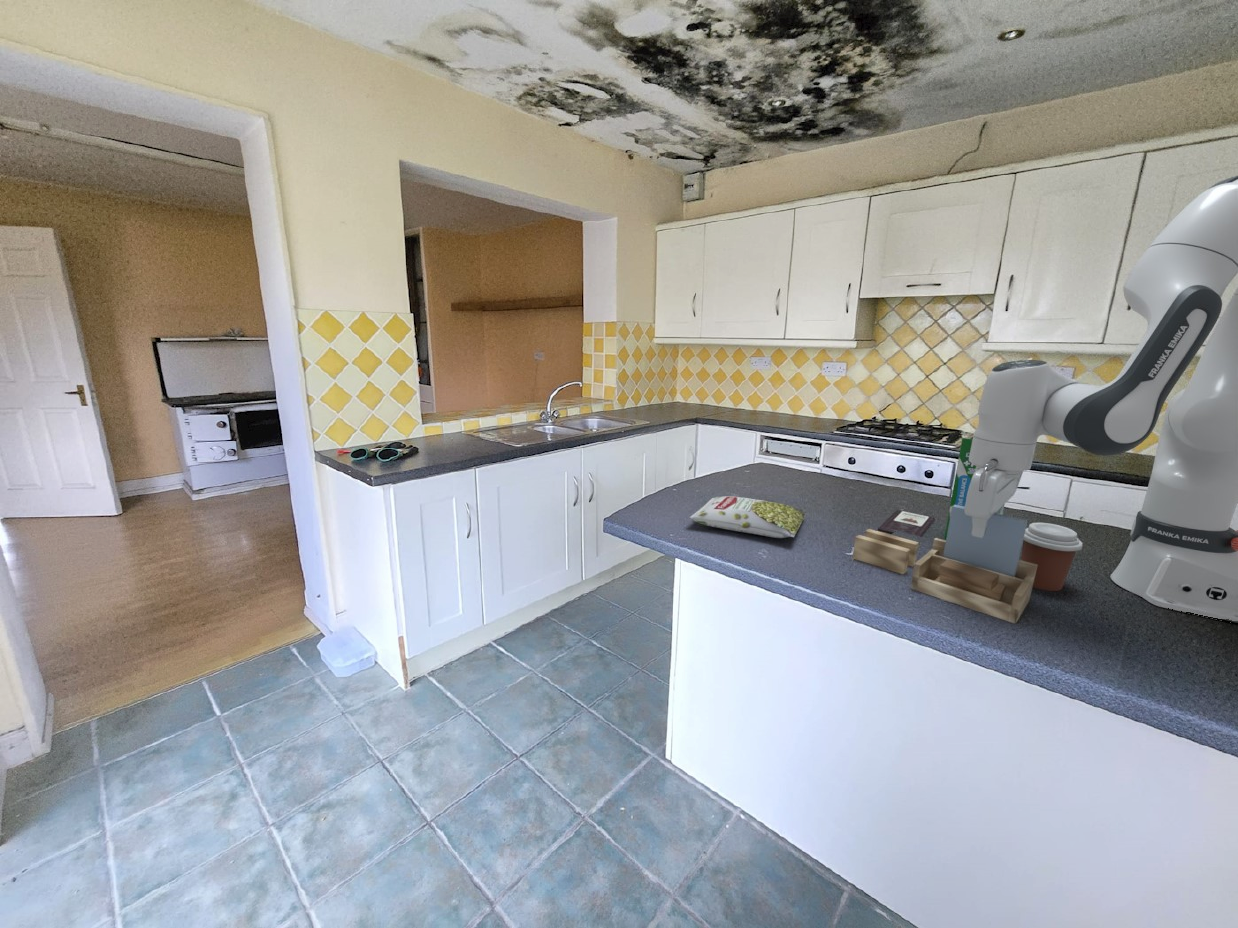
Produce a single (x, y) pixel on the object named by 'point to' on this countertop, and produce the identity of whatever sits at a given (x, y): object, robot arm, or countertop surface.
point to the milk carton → (962, 478)
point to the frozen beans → (750, 516)
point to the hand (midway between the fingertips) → (984, 529)
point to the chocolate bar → (906, 523)
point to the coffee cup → (1050, 553)
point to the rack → (1005, 609)
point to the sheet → (986, 542)
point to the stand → (885, 551)
